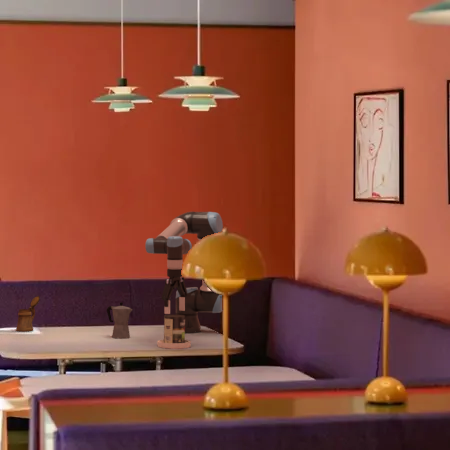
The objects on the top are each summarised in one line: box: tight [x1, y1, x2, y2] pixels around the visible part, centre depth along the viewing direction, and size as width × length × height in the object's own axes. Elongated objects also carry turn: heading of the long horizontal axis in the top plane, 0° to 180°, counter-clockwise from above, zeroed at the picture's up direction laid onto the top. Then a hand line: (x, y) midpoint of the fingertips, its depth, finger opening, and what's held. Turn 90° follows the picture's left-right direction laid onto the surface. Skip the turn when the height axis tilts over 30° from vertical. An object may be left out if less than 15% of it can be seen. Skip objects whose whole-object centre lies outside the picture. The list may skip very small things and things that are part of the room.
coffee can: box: [163, 314, 186, 343], centre depth 581 cm, size 10×10×14 cm
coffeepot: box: [106, 301, 133, 340], centre depth 611 cm, size 15×9×18 cm, turn 61°
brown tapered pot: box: [15, 295, 40, 333], centre depth 634 cm, size 9×14×18 cm, turn 134°
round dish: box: [157, 339, 192, 350], centre depth 581 cm, size 16×16×2 cm
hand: (174, 312), depth 581 cm, fingers open, 13 cm apart
